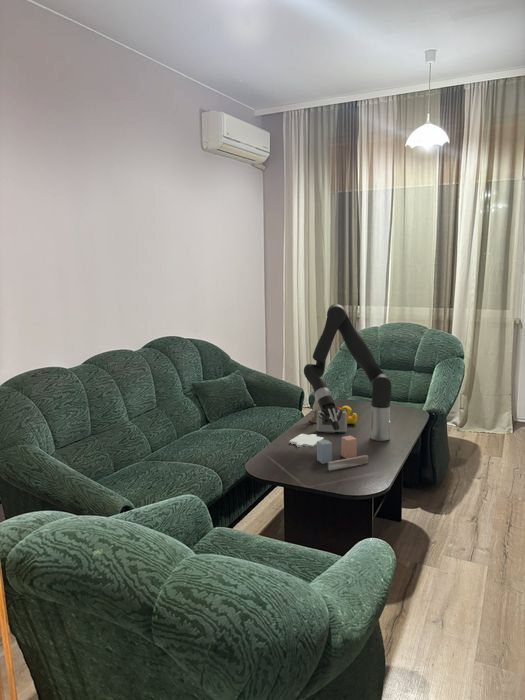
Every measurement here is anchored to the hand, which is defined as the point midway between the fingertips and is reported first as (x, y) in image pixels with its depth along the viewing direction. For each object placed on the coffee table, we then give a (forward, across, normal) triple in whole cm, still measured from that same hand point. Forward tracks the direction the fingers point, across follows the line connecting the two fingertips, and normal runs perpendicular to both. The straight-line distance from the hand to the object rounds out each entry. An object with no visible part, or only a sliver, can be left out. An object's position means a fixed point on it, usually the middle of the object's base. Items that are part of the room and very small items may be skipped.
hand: (337, 429), depth 257 cm
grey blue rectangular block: (+14, -13, 0) cm, 19 cm away
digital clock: (-11, +13, +27) cm, 32 cm away
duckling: (-17, +28, +32) cm, 46 cm away
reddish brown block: (+14, 0, 0) cm, 14 cm away
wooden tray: (+17, -6, -2) cm, 19 cm away
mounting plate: (-4, -7, +20) cm, 22 cm away
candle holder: (-24, +15, +40) cm, 49 cm away
